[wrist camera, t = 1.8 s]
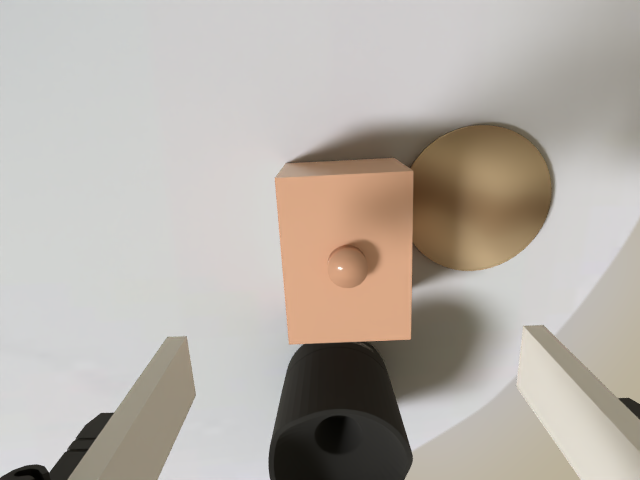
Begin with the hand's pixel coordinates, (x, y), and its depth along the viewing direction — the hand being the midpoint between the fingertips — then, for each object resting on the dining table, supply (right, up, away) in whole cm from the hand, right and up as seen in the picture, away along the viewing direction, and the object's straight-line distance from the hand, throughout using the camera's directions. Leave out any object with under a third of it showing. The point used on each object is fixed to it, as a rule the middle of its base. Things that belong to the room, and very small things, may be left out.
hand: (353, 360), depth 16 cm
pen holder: (0, -7, +20) cm, 21 cm away
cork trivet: (+10, +8, +15) cm, 20 cm away
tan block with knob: (0, +5, +16) cm, 17 cm away
